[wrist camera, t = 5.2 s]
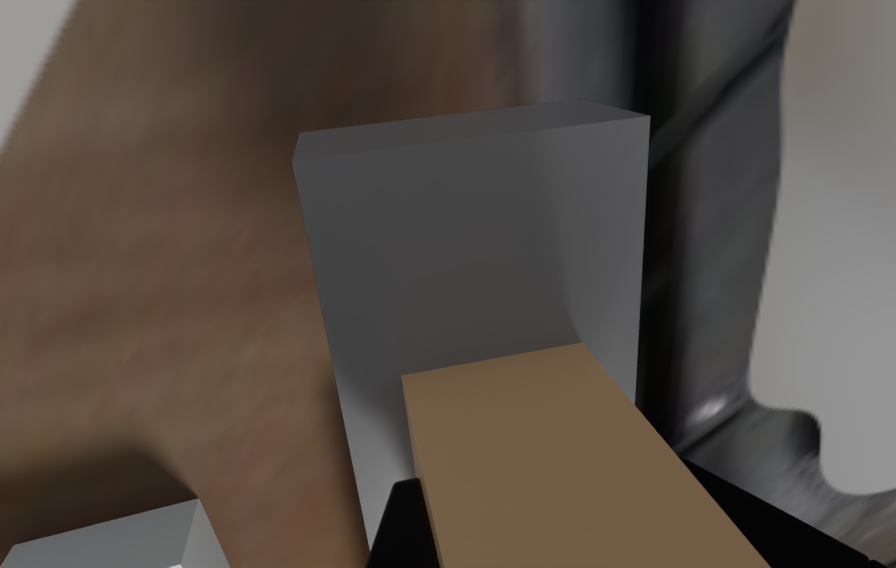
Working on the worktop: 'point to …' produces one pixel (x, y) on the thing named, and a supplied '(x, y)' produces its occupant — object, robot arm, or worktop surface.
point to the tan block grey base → (502, 336)
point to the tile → (129, 543)
